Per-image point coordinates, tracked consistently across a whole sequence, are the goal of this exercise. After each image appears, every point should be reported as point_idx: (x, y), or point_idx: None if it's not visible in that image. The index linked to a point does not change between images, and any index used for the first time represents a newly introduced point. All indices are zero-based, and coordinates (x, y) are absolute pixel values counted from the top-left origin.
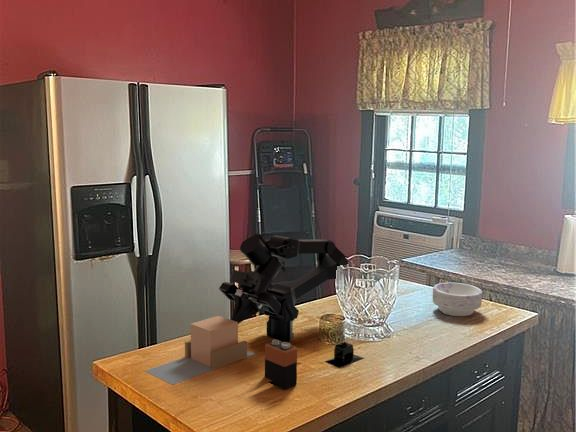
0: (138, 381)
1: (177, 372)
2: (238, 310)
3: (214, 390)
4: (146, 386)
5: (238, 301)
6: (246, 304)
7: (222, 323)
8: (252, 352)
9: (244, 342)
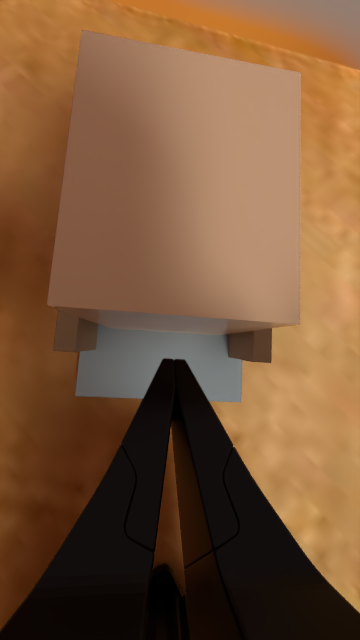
0: (228, 58)
1: None
2: (192, 485)
3: (14, 121)
4: (187, 48)
5: (252, 627)
6: (3, 629)
7: (131, 202)
8: (92, 395)
9: (56, 332)
